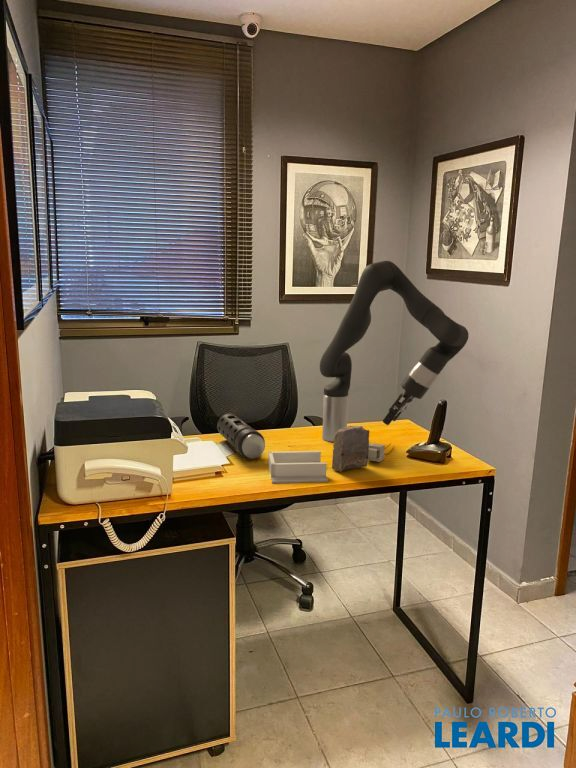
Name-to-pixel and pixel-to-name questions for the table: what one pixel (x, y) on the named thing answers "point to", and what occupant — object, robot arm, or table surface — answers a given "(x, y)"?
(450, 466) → the table surface
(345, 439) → the geological specimen
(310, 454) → the open rectangular box
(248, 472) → the table surface
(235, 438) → the muzzle brake
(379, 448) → the electrical component
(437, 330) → the robot arm
